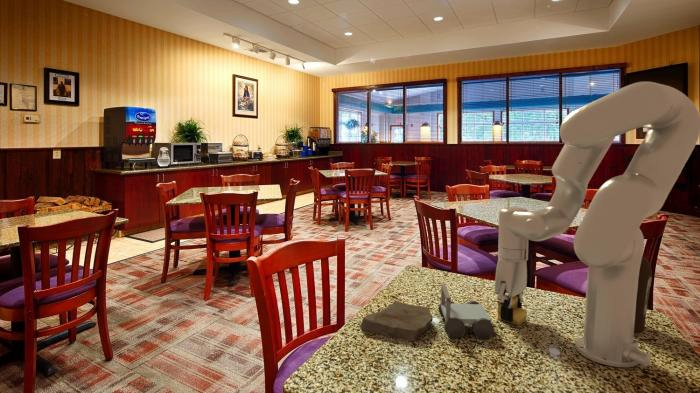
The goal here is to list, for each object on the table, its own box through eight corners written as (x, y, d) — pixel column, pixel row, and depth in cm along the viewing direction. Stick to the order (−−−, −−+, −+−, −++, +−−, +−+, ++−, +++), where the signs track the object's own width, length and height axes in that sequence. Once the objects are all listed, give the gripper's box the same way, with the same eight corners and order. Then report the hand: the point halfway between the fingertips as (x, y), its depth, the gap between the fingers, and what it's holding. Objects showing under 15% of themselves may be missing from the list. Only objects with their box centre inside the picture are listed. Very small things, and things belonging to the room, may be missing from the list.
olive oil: (602, 330, 104) (609, 235, 101) (596, 314, 114) (601, 227, 111) (652, 337, 100) (660, 239, 97) (641, 320, 109) (648, 230, 106)
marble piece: (359, 331, 106) (359, 316, 105) (383, 311, 118) (383, 297, 118) (420, 346, 97) (420, 329, 97) (438, 323, 110) (438, 308, 110)
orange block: (526, 320, 110) (526, 299, 109) (518, 325, 107) (519, 303, 106) (505, 314, 114) (505, 293, 114) (497, 318, 111) (498, 297, 111)
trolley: (481, 318, 112) (482, 283, 111) (493, 339, 100) (495, 300, 98) (438, 317, 113) (438, 282, 112) (444, 338, 101) (445, 299, 99)
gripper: (513, 245, 117) (511, 305, 119) (484, 256, 106) (482, 323, 108) (539, 249, 112) (537, 312, 114) (512, 262, 100) (510, 331, 102)
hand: (511, 317), depth 111 cm, fingers closed on orange block, 4 cm apart
